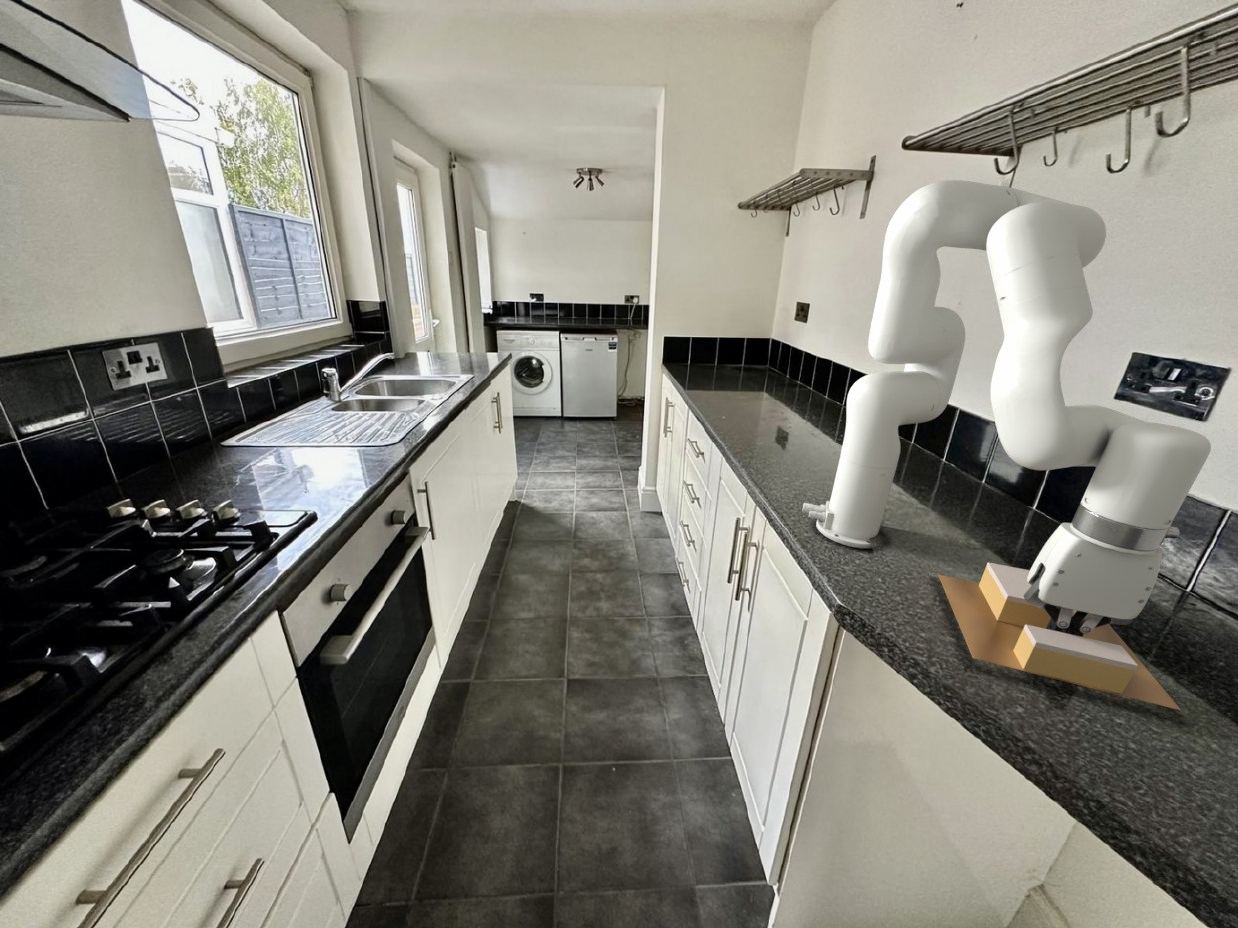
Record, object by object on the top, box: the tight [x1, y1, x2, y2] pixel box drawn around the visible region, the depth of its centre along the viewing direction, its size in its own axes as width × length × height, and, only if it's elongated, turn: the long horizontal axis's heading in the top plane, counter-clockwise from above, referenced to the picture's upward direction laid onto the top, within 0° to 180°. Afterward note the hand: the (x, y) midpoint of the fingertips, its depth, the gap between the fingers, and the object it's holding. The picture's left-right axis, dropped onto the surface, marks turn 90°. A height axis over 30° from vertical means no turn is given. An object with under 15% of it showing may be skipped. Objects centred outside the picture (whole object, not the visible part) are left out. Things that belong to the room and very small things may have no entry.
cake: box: [979, 562, 1085, 637], centre depth 71 cm, size 10×9×4 cm
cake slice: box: [1013, 624, 1138, 694], centre depth 60 cm, size 10×4×4 cm, turn 70°
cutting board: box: [938, 574, 1182, 711], centre depth 68 cm, size 21×20×2 cm
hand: (1055, 647), depth 64 cm, fingers closed
